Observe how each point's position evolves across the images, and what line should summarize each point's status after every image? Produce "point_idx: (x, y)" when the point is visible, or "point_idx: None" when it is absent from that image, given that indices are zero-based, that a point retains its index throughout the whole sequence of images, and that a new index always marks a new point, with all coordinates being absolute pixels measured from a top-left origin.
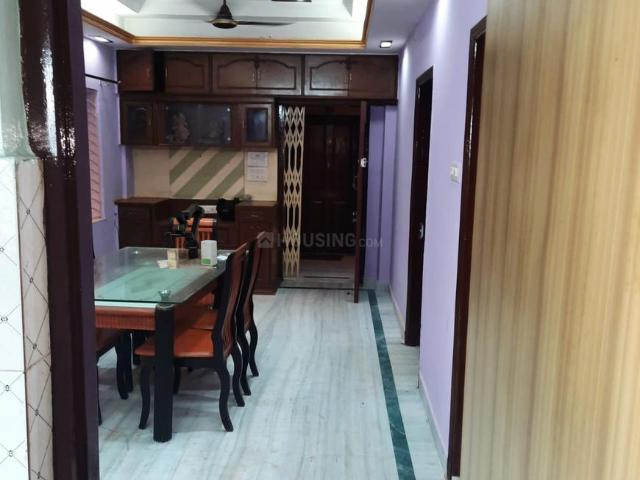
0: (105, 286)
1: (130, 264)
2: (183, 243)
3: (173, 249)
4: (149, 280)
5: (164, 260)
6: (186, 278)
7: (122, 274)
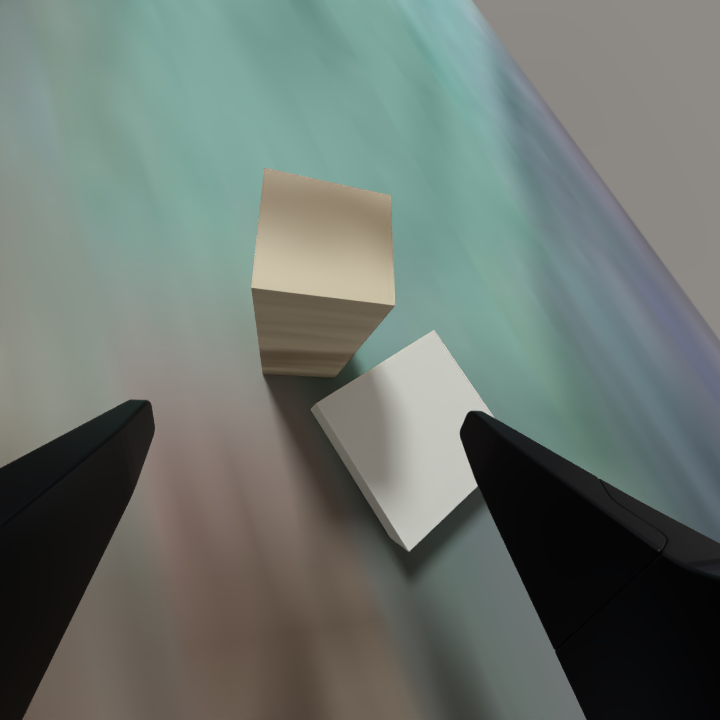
0: (471, 18)
1: (683, 486)
2: (103, 446)
3: (317, 248)
4: (324, 43)
5: (461, 478)
6: (77, 5)
7: (542, 206)
